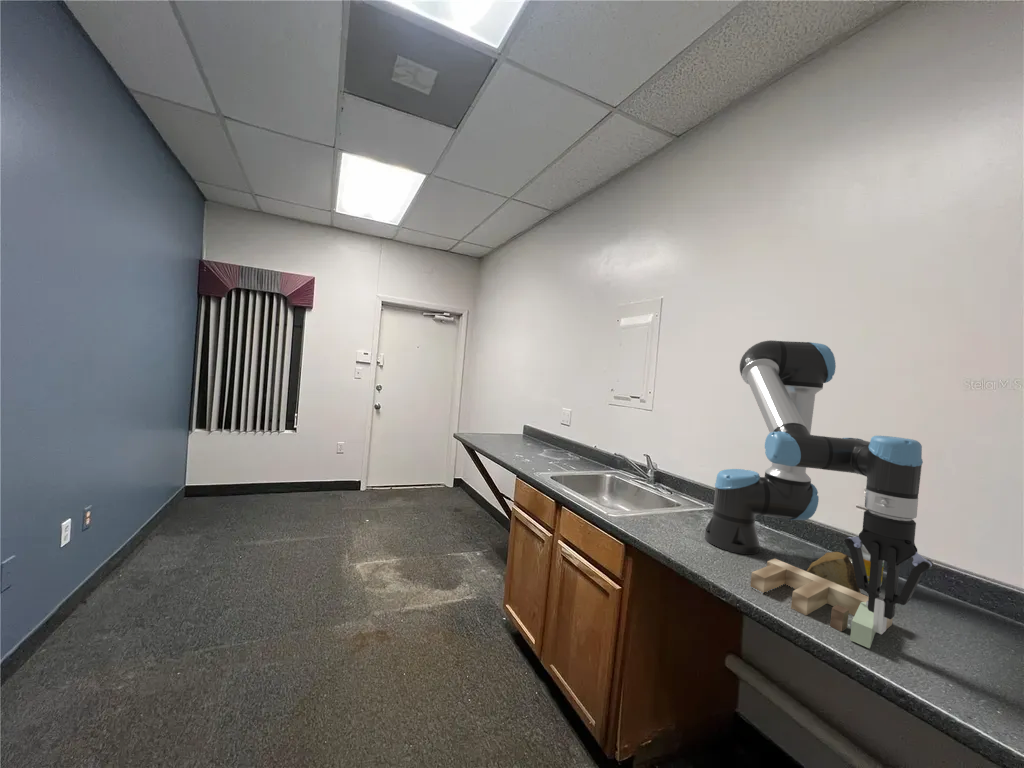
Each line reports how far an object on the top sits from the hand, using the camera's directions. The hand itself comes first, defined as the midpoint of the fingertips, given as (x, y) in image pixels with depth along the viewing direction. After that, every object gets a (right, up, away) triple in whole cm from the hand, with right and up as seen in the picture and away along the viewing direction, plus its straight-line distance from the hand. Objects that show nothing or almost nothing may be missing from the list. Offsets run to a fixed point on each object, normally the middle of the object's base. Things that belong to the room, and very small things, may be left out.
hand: (879, 630), depth 79 cm
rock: (+9, -3, +24) cm, 26 cm away
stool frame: (-3, -2, +14) cm, 14 cm away
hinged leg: (0, -3, +3) cm, 4 cm away
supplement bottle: (+22, -4, +27) cm, 36 cm away
